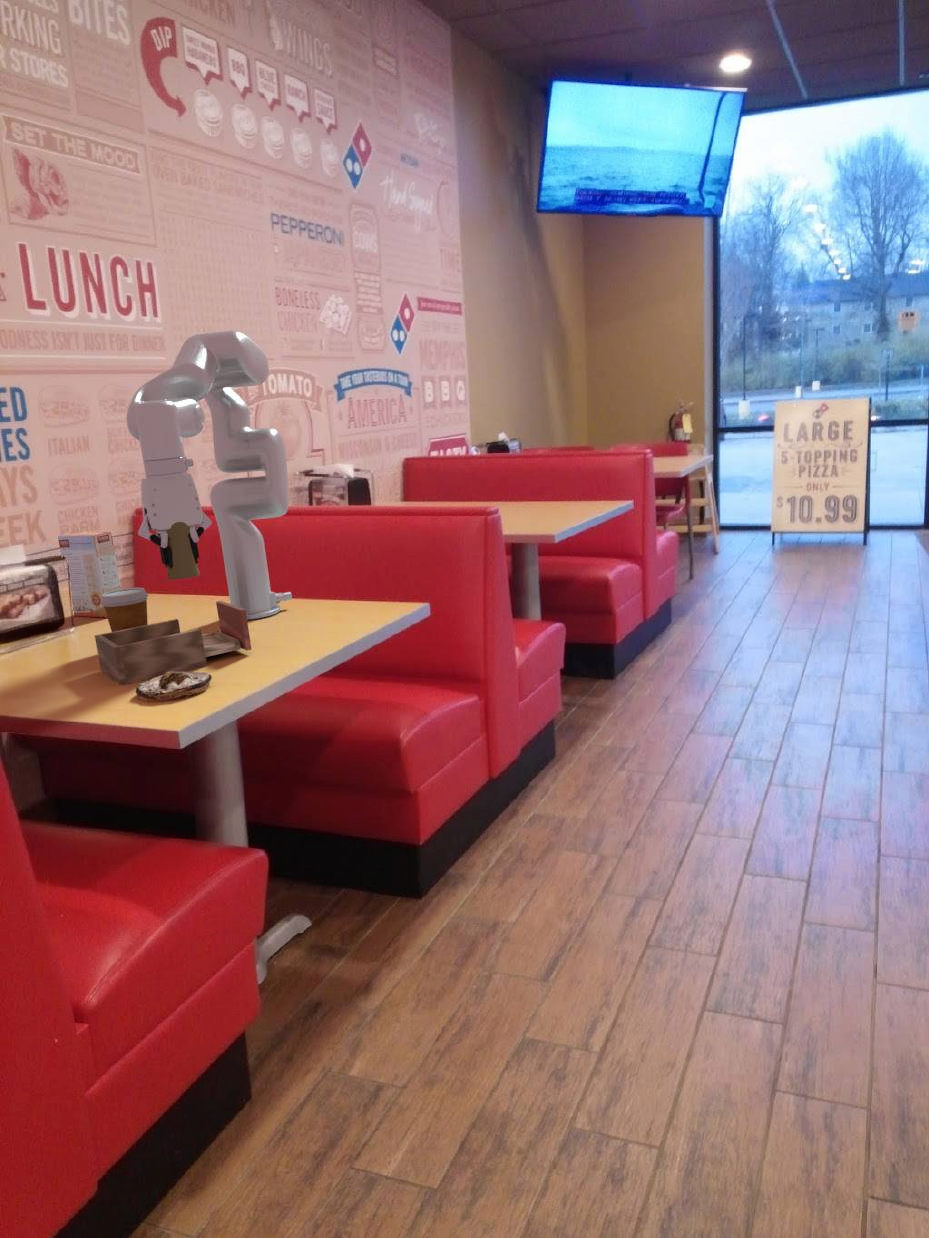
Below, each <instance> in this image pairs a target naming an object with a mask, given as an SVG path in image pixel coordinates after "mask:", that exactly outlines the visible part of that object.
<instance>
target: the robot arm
mask: <svg viewBox="0 0 929 1238" xmlns="http://www.w3.org/2000/svg"><path fill="white" fill-rule="evenodd" d="M265 353H266V352H264V351H263V349H262V348H261V347H260V345H258V344H257V343H256V342H255V341H253V340H252V339H251V338H250V337H249V336H247V335H246V334H245V333H242V332H240V331H237V330H227V331H216V332H215V331H214V332H208V333H207V332H206V333H205V332H204V333H197V334H194V335H192V336H189V337H188V338H187V339H186V340H185V341H184V342H183V343H182V346H181V348H180V350H179V353H178V354H177V356H176V358H175V361H174V363H173V365H172V366H171V368H169V369H167V370H165V371H163V372H162V373H160V374H158V375H157V376H155V377H153V378H152V379H150V380H148V381H146V382H145V383H144V384H142V385H141V386H140V387H139V388H138V389H137V390H136V391H135V393H134V395H133V396H132V398H131V400H130V403H129V405H128V407H127V411H126V425H127V426H126V427H127V428H128V429H127V430H128V432H129V434H130V435H131V436H132V437H133V438H134V439H136V440H138V441H139V443H140V445H139V446H140V451H141V456H142V461H143V468H144V474H145V475H144V476H145V478H141V483H140V484H141V485H140V488H141V489H140V490H141V491H140V493H141V495H140V496H141V506H142V507H141V508H142V509H141V510H142V517H143V519H142V522H141V525H140V526H139V529H138V531H137V534H138V536H140V537H142V538H144V539H147V540H148V541H150V542H152V543H153V544H154V545H156V546H157V547H159V552H160V559H161V563H162V564H163V565H164V567H165V568H167V566H168V567H169V568H172V567H173V563H172V552H171V548H170V547H168V544H167V541H168V534H167V531H168V530H169V529H170V528H171V526H172V525H173V524H174V523H176V522H184V523H186V524H187V526H189V527H190V532H189V534H188V536H189V540H190V543H191V548H192V552H193V555H194V558H195V562H196V563H197V564H198V563H199V561H198V560H199V558H200V554H199V547H198V542H199V541H200V538H201V536H202V535H203V534H204V532H205V531H206V530H207V529H208V528H209V527H210V526H211V525H212V524H213V521H212V520H211V519H210V518H209V517H208V516H207V514H206V513H205V512H204V511H203V510H202V506H201V505H202V504H201V501H200V497H199V494H198V493H199V492H198V489H197V487H196V483H195V480H194V478H193V475H192V474H191V472H188V471H189V468H190V467H194V460H193V459H191V458H190V459H188V458H187V456H185V449H184V444H183V439H187V438H192V437H196V436H197V435H198V434H200V433H201V432H202V431H203V430H204V427H205V420H206V417H205V412H204V410H203V407H202V406H201V405H200V403H199V401H201V400H202V399H204V400H205V401H206V404H207V406H208V408H209V411H210V416H211V423H212V425H211V426H212V427H211V428H212V438H213V439H212V440H213V453H214V460H215V465H216V467H217V468H218V469H219V471H221V472H223V473H226V474H241V473H251V472H264V473H265V475H260V476H259V475H258V476H251V477H248V476H247V477H237V478H228V479H227V478H226V479H223V480H221V481H218V482H217V483H215V484H214V485H213V486H212V488H211V490H210V494H209V500H210V504H211V508H212V511H213V514H214V517H215V521H216V523H217V528H218V532H219V538H220V542H221V548H222V556H223V562H224V563H223V564H224V569H225V576H226V583H227V589H228V596H229V604H232V605H234V606H237V607H240V608H243V609H246V615H247V621H249V620H255V619H262V618H267V617H270V616H273V615H276V614H278V613H279V612H280V611H281V606H280V605H279V604H280V603H281V602H286V601H292V599H293V595H292V592H291V591H286V592H278V593H277V592H274V591H272V590H271V583H270V575H269V569H268V562H267V554H266V549H265V547H266V546H265V541H264V540H265V539H264V537H263V534H262V533H261V531H260V530H259V528H258V527H257V526H256V525H254V523H253V522H252V521H254V520H260V519H261V520H262V519H263V520H264V519H273V518H280V517H282V516H284V515H286V514H287V513H288V511H289V508H290V492H289V491H290V489H289V488H290V487H289V478H288V464H287V454H286V446H285V442H284V439H283V436H282V435H281V433H280V432H279V431H278V430H277V429H276V428H272V427H257V428H252V426H251V417H250V408H249V406H248V405H247V403H246V402H245V400H243V399H242V398H241V396H240V395H239V394H238V393H236V392H235V391H234V390H233V388H242V387H243V388H244V387H245V388H246V387H254V386H258V385H259V386H260V385H262V384H263V383H265V382H266V380H267V379H268V378H269V377H268V376H269V370H270V369H269V368H270V367H269V366H270V365H269V361H268V358H267V356H266V354H265ZM150 531H153V532H156V534H155V533H151V532H150Z"/></svg>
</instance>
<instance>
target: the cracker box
mask: <svg viewBox="0 0 929 1238" xmlns="http://www.w3.org/2000/svg"><path fill="white" fill-rule="evenodd" d="M57 539H58V545H59V549H60V551H59V552H60V554H61V558H62V557H63V556H64V557H66V558H67V561H68V565H69V573H70V582H71V591H72V604H73V611H74V615H75V616H74V617H91V618H103V617H104V618H105V619H108V618H107V615H106V612H105V609H104V606H103V605H102V603H101V602H100V601H101V600H102V595H103V594H104V593H107V592H111V591H115V590H121V589H122V586H121V581H120V575H119V569H118V564H117V557H116V552H115V551H116V550H115V545H114V540H113V535H112V531H80V532H70V533H65V534H61V535H58V536H57ZM62 567H63V570H64V571H63V572H64V577H65V579H66V568H65V565H64V563H63V562H62Z"/></svg>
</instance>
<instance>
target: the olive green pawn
mask: <svg viewBox="0 0 929 1238" xmlns="http://www.w3.org/2000/svg"><path fill="white" fill-rule="evenodd" d="M189 532H190V527H189V526H187V524H186V523H184V522H176V523H174V524H173V525H172V526H171V528H170V529H169V530H168V531H167V534H168V541H167V544H168V547H170V548H171V552H172V563H173V567H172V568H169V567H168V566H167V567H166V569H167V571H166V573H167V574H166V575H167V580H170V581H171V580H172V581H173V580H183V579H191V578H194V577H197V576H200V570H199V567H198V563H196V562H195V558H194V555H193V552H192V548H191V543H190V540H189V536H188V534H189Z"/></svg>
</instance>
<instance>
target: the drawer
mask: <svg viewBox="0 0 929 1238" xmlns="http://www.w3.org/2000/svg"><path fill="white" fill-rule="evenodd" d="M215 604H216V610H217V616H218V617H217V619H218V622H219V624H218V625H219V629H220V630H217V631H214V632H210V633H204V634H203V633H202V638H203V644H204V651H205V657H206V658H208V657H211V656H216V655H220V654H224V653H231V652H234V651H238V650H241V649H242V650H245V651H251V650H252V645H251V643H252V642H251V637H250V631H249V624H248V623H249V622H248V620H247V615H246V609H243V608H240V607H237V606H234V605H232V604H231V603H230V602H229V603H228V602H226V601H223V600H218V601H215Z"/></svg>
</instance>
